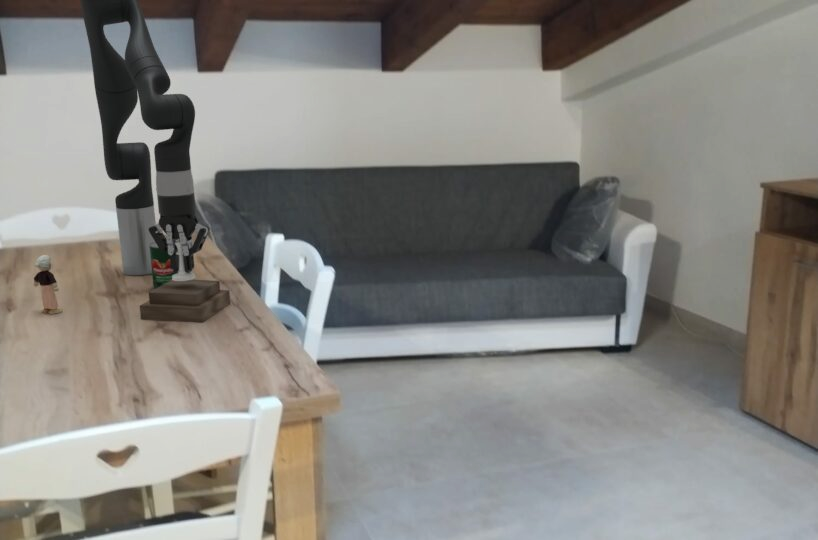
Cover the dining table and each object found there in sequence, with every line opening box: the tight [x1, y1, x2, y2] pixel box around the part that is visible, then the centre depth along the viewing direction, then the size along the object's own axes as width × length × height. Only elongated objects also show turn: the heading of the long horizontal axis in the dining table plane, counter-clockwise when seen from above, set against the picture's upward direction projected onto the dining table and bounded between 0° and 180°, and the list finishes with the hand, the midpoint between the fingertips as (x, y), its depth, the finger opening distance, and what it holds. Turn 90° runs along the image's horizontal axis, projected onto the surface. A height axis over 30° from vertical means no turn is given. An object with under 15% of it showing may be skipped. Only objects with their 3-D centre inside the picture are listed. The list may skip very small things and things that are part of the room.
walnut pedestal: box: [139, 279, 231, 323], centre depth 173 cm, size 14×14×6 cm
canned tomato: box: [149, 242, 185, 290], centre depth 191 cm, size 8×8×11 cm
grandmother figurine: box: [33, 254, 63, 315], centre depth 173 cm, size 8×4×13 cm, turn 71°
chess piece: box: [172, 239, 197, 281], centre depth 170 cm, size 5×5×10 cm
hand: (182, 271), depth 171 cm, fingers closed on chess piece
